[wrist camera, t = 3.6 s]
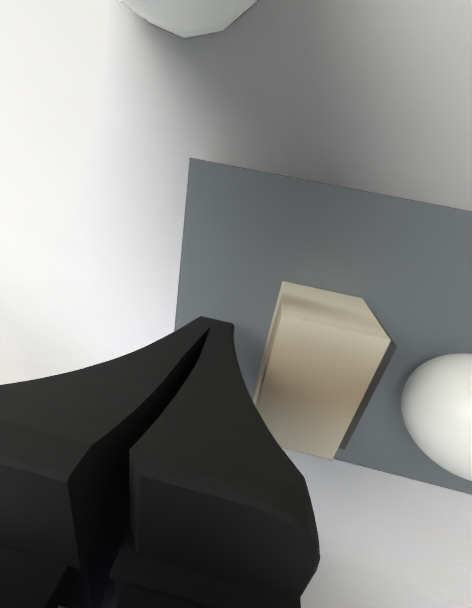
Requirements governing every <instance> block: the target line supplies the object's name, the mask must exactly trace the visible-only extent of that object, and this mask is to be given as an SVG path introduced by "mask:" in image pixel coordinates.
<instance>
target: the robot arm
mask: <svg viewBox="0 0 472 608" xmlns="http://www.w3.org/2000/svg"><path fill="white" fill-rule="evenodd" d="M234 329H235V326H234V325H233V323H230V322H225V321H221V320H216V319H212V318H208V317H203V316H200V317H198V318H196V319H195V320H193V321H191V322H190V323H188V324H186V325H185V326H183V327H181V328H180V329H178V330H176V331H175V332H173V333H171V334H169V335H168V336H166V337H164V338H162V339H160V340H158V341H156V342H154V343H152V344H150V345H148V346H146V347H144V348H141V349H139V350H137V351H134V352H132V353H129V354H126V355H124V356H121V357H119V358H116V359H113V360H110V361H106V362H103V363H100V364H97V365H93V366H90V367H87V368H83V369H80V370H76V371H72V372H67V373H63V374H59V375H54V376H50V377H45V378H40V379H35V380H29V381H24V382H17V383H11V384H4V385H0V608H301V604H300V597H301V595H302V594H303V592H304V590H305V589H306V587H307V585H308V584H309V582H310V580H311V579H312V577H313V575H314V574H315V572H316V570H317V567H318V564H319V561H320V553H319V539H318V532H317V527H316V522H315V517H314V512H313V508H312V503H311V499H310V496H309V492H308V488H307V485H306V481H305V478H304V477H303V475H302V474H301V473H300V471H299V470H298V469H297V468H296V466H295V465H294V464H293V463H292V461H291V460H290V459H289V457H288V456H287V455H286V454H285V452H284V451H283V450H282V449H281V447H280V446H279V444H278V443H277V441H276V440H275V438H274V437H273V435H272V434H271V432H270V431H269V429H268V427H267V426H266V424H265V422H264V420H263V419H262V417H261V415H260V413H259V412H258V410H257V408H256V406H255V404H254V402H253V400H252V398H251V396H250V394H249V392H248V389H247V387H246V384H245V382H244V379H243V376H242V374H241V370H240V367H239V364H238V360H237V356H236V351H235V345H234Z"/></svg>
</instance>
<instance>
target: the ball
mask: <svg viewBox="0 0 472 608" xmlns="http://www.w3.org/2000/svg"><path fill="white" fill-rule="evenodd" d="M401 412H402V417H403V420H404V423H405V425H406V428H407V430H408V432H409V434H410V435H411V437H412V439H413V440H414V441H415V443H416V444H417V445H418V447H419V448H420V449H421V450H422V451H423V452H424V453H425V454H426V455H427V456H428V457H429V458H430V459H431V460H433V461H434V462H435V463H437V464H438V465H440V466H441V467H442V468H444V469H446V470H448V471H449V472H451V473H453V474H455V475H457V476H460V477H462V478H465V479H467V480H470V481H472V354H468V353H455V354H447V355H442V356H439V357H436V358H433V359H431V360H428V361H427V362H425V363H423V364H422V365H420V366H419V367H417V368H416V369H415V370H414V371H413V372H412V373H411V374H410V376H409V377H408V379H407V381H406V382H405V385H404V387H403V390H402V395H401Z"/></svg>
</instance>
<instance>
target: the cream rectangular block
mask: <svg viewBox="0 0 472 608" xmlns="http://www.w3.org/2000/svg"><path fill="white" fill-rule="evenodd" d="M396 348H397V346H396V345H395V343H394V342H393V340H392V339H391V337H390V336H389V335H388V333H387V332H386V330H385V329H384V327H383V326H382V324H381V323H380V321H379V320H378V318H377V317H376V316H375V314H374V313H373V311H371V310H370V309H369V307H368V306H367V304H366V303H365V301H364V300H363V298H359V297H355V296H350V295H345V294H341V293H336V292H332V291H327V290H322V289H318V288H313V287H309V286H304V285H299V284H295V283H290V282H286V281H282V284H281V288H280V292H279V295H278V299H277V303H276V307H275V311H274V314H273V318H272V322H271V326H270V330H269V333H268V337H267V341H266V345H265V349H264V353H263V356H262V360H261V364H260V368H259V372H258V375H257V379H256V383H255V391H254V398H253V402H254V404H255V406H256V408H257V410H258V412H259V413H260V415H261V417H262V419H263V420H264V422H265V424H266V426H267V427H268V429H269V431H270V432H271V434H272V435H273V437H274V438H275V440H276V441H277V443H278V444H279V446H280V447H283V448H287V449H291V450H295V451H299V452H302V453H306V454H310V455H314V456H318V457H322V458H325V459H329V460H332V459H333V457H334V455H335V453H336V451H337V449H338V448H339V449H343V450H345V448H346V446H347V444H348V442H349V441H350V439H351V437H352V435H353V433H354V431H355V429H356V427H357V425H358V423H359V421H360V419H361V417H362V415H363V413H364V411H365V409H366V407H367V405H368V403H369V401H370V399H371V397H372V395H373V393H374V391H375V389H376V388H377V386H378V384H379V382H380V380H381V378H382V376H383V374H384V372H385V370H386V368H387V366H388V364H389V362H390V360H391V358H392V356H393V354H394V352H395V350H396Z"/></svg>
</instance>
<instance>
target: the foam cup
mask: <svg viewBox="0 0 472 608" xmlns="http://www.w3.org/2000/svg"><path fill="white" fill-rule="evenodd" d="M118 1H120V2H121V3H122V4H124V5H125V6H126V7H128V8H129V9H130V10H132V11H133V12H134V13H136V14H137V15H138V16H141V17H143V18H145V19H146V20H147V21H148V22H149V23H151V24H153V25H156V26H158V27H160V28H163V29H165V30H167V31H169V32H172V33H174V34H176V35H178V36H181V37H183V38H187V37H193V36H198V35H203V34H209V33H214V32H220V31H223V30H224V29H225V28H226V27H228V26H229V25H230V24H231V23H232V22H233V21H235V20H236V19H237V18H238V17H239V16H240V15H241V14H243V13H244V12H245V11H246V10H247V9H248V8H250V7H251V6H252V5H253V4H254V3H255V2H256V1H258V0H118Z"/></svg>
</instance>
